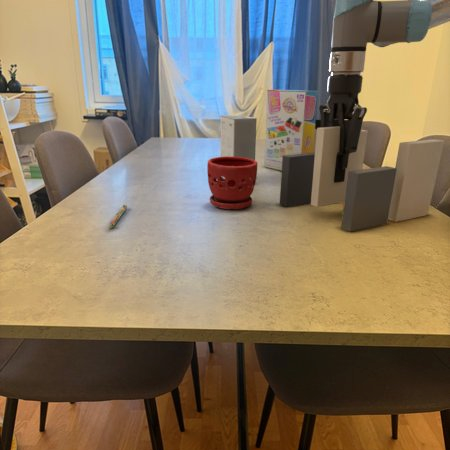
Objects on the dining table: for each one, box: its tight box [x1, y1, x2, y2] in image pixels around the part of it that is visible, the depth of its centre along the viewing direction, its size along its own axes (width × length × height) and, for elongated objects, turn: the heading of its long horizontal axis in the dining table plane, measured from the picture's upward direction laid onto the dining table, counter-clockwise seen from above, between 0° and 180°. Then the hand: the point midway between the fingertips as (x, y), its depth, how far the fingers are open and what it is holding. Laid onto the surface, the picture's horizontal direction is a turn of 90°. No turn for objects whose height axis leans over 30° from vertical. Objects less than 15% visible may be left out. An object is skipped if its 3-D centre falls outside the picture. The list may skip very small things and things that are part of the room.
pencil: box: [108, 204, 128, 230], centre depth 106 cm, size 1×1×18 cm
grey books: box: [279, 152, 397, 233], centre depth 108 cm, size 27×12×13 cm, turn 30°
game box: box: [264, 89, 319, 172], centre depth 155 cm, size 21×6×27 cm, turn 34°
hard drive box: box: [220, 114, 258, 179], centre depth 142 cm, size 16×8×20 cm, turn 17°
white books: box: [357, 129, 445, 223], centre depth 114 cm, size 27×12×18 cm, turn 30°
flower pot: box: [206, 156, 258, 210], centre depth 115 cm, size 13×13×12 cm
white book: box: [310, 126, 363, 208], centre depth 106 cm, size 2×12×18 cm, turn 120°
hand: (334, 180), depth 107 cm, fingers closed on white book, 2 cm apart
